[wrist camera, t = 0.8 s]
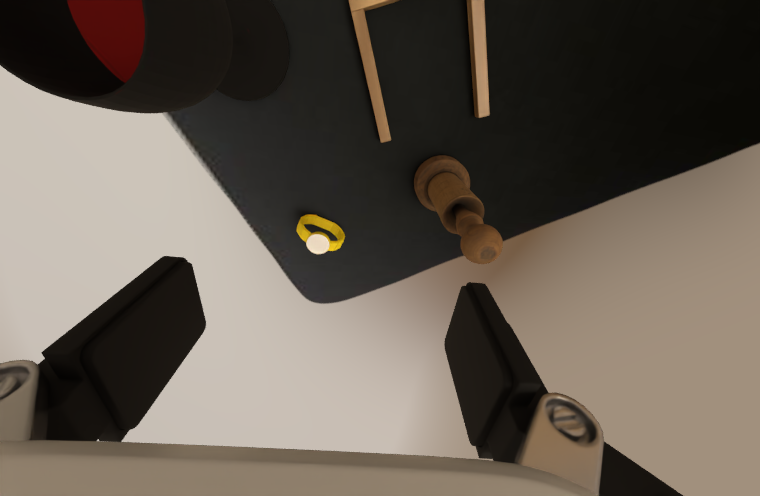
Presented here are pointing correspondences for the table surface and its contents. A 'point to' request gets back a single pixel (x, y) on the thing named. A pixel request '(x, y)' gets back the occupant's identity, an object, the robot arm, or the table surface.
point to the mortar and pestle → (457, 207)
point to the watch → (320, 234)
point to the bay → (477, 37)
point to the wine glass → (145, 50)
